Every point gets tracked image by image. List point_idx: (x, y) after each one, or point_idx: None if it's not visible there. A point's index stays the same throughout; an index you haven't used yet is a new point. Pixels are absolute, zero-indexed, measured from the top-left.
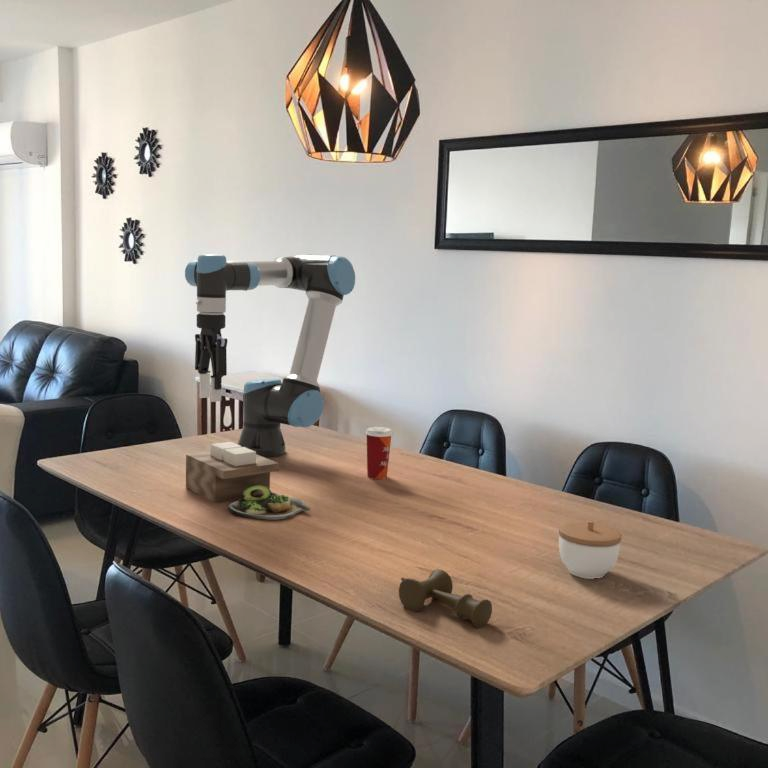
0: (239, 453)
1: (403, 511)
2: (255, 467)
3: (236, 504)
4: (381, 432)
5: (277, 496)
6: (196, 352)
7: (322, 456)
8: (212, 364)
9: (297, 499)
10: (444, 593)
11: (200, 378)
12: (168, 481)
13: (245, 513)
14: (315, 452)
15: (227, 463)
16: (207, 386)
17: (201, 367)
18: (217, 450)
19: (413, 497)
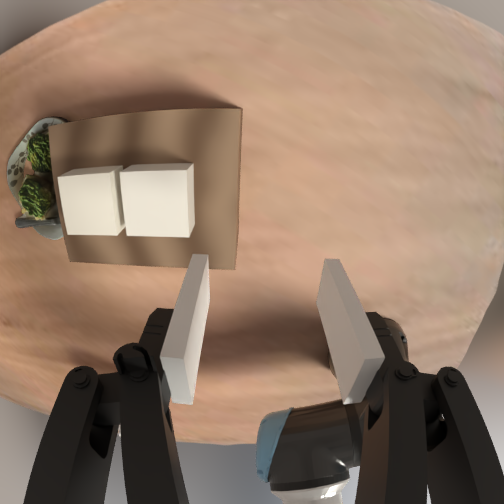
0: (62, 190)
1: (21, 314)
2: (58, 206)
3: None
4: (119, 432)
5: (37, 202)
6: (491, 482)
7: (282, 393)
8: (146, 461)
9: (54, 237)
10: None
11: (361, 334)
12: (309, 103)
13: (28, 132)
14: (306, 395)
15: (98, 163)
16: (331, 332)
17: (385, 408)
18: (146, 168)
19: (62, 354)
